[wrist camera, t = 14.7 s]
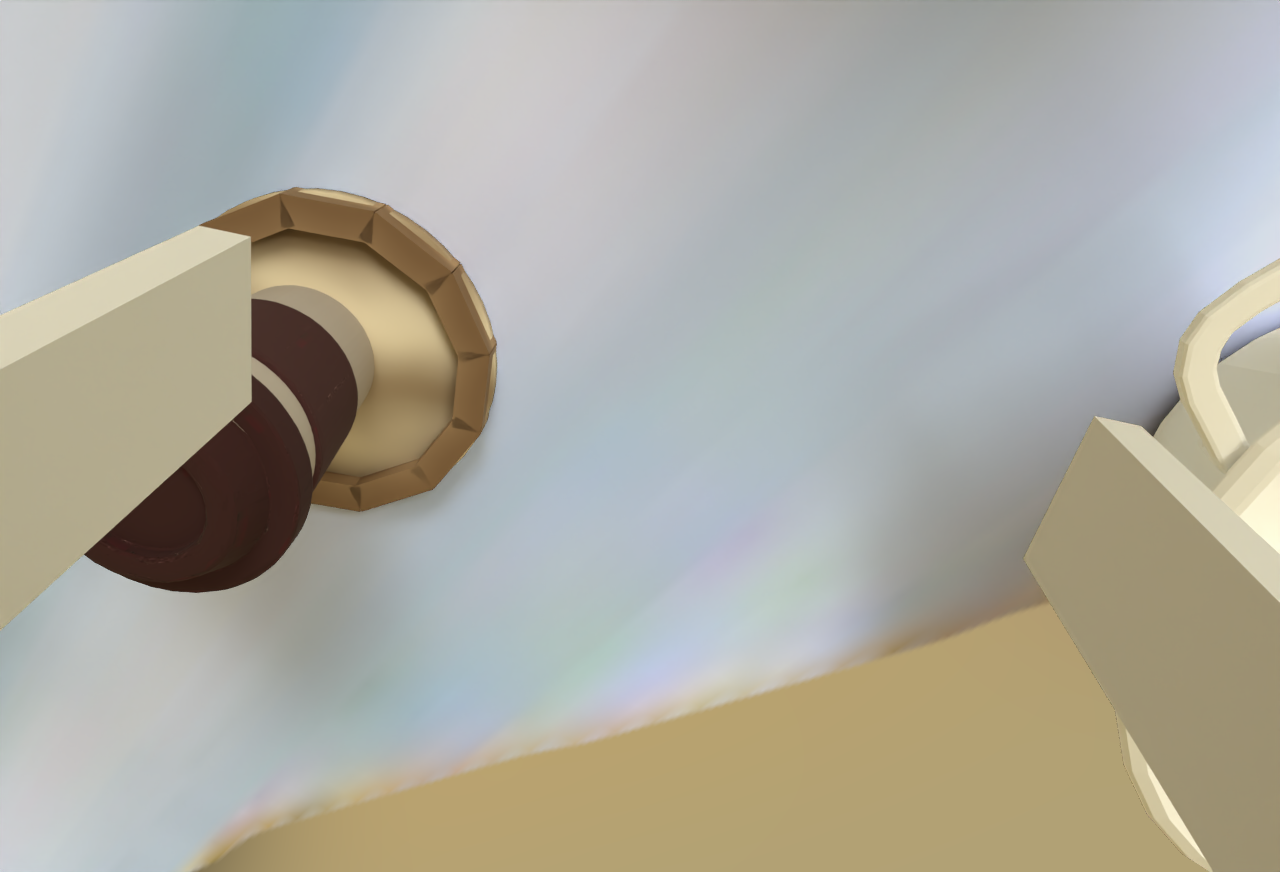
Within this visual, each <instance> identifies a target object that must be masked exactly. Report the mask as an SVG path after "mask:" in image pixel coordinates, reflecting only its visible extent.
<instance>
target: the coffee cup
mask: <svg viewBox="0 0 1280 872" xmlns="http://www.w3.org/2000/svg"><path fill="white" fill-rule="evenodd" d="M374 368H375V367H374V355H373V350H372V347H371V343H370V340H369V338H368V336H367V334H366V332H365V330H364V328H363V327H362V325H361V324H360V323H359V321H358V320H357V318H356V317H355V316H354V315H353V314H352V313H351V312H350V311H349V310H348V309H347V308H346V307H345V306H344V305H342V304H341V303H340V302H338V301H337V300H335V299H334V298H332V297H331V296H329V295H326V294H324V293H322V292H320V291H317V290H315V289H311V288H308V287H303V286H296V285H283V286H274V287H269V288H266V289H263V290H260V291H258V292H256V293H254V294H252V295H251V383H252V402H251V403H250V404H249V405H248V406H247V407H245V408H244V409H243V410H242V411H241V412H240V413H239V414H238V415H237V416H236V417H234V418H233V419H232V420H231V421H230V422H229V423H228V424H227V425H226V426H225V427H223V428H222V429H221V430H220V431H219V432H218V433H217V434H216V435H215V436H214V437H212V438H211V439H210V440H209V441H208V442H207V443H206V444H205V445H204V446H203V447H201V448H200V449H199V450H198V451H197V452H196V453H195V454H194V455H193V456H192V457H190V458H189V459H188V460H187V461H186V462H185V463H184V464H183V465H182V466H181V467H179V468H178V469H177V470H176V471H175V472H174V473H173V474H172V475H171V476H170V477H168V478H167V479H166V480H165V481H164V482H163V483H162V484H161V485H160V486H159V487H157V488H156V489H155V490H154V491H153V492H152V493H151V494H150V495H149V496H148V497H146V498H145V499H144V500H143V501H142V502H141V503H140V504H139V505H138V506H137V507H135V508H134V509H133V510H132V511H131V512H130V513H129V514H128V515H127V516H126V517H124V518H123V519H122V520H121V521H120V522H119V523H118V524H117V525H116V526H115V527H113V528H112V529H111V530H110V531H109V532H108V533H107V534H106V535H105V536H104V537H103V538H101V539H100V540H99V541H98V542H97V543H96V544H95V545H94V546H93V547H92V548H90V549H89V550H88V551H87V552H86V553H85V554H84V555H85V556H87V557H88V558H89V559H91V560H92V561H93V562H95V563H97V564H99V565H101V566H103V567H105V568H107V569H108V570H110V571H112V572H114V573H117V574H120V575H122V576H124V577H126V578H128V579H131V580H134V581H136V582H139V583H142V584H145V585H148V586H151V587H155V588H160V589H165V590H170V591H178V592H193V593H199V592H210V591H219V590H225V589H229V588H233V587H236V586H239V585H241V584H244V583H246V582H248V581H251V580H253V579H255V578H257V577H258V576H260V575H261V574H262V573H264V572H265V571H267V570H268V569H269V568H271V567H272V566H273V565H274V564H275V563H276V562H277V561H278V560H279V559H280V558H281V557H282V555H283V554H284V553H285V552H286V550H287V549H288V548H289V546H290V545H291V543H292V542H293V541H294V539H295V538H296V537H297V535H298V534H299V532H300V530H301V529H302V527H303V525H304V523H305V520H306V518H307V515H308V512H309V508H310V505H311V499H312V493H313V491H314V490H315V488H316V487H317V485H318V483H319V482H320V480H321V478H322V477H323V475H324V473H325V472H326V470H327V469H328V467H329V465H330V464H331V462H332V460H333V459H334V457H335V455H336V454H337V452H338V451H339V449H340V447H341V446H342V444H343V442H344V441H345V439H346V437H347V436H348V434H349V432H350V430H351V428H352V426H353V423H354V420H355V417H356V412H357V411H358V409H359V408H360V406H361V404H362V403H363V401H364V400H365V398H366V396H367V395H368V393H369V390H370V388H371V385H372V382H373V377H374Z"/></svg>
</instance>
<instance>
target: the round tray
mask: <svg viewBox="0 0 1280 872" xmlns="http://www.w3.org/2000/svg"><path fill="white" fill-rule="evenodd" d="M199 226H203V227H208V228H212V229H217V230H222V231H226V232H231V233H236V234H240V235H245V236H250V237H251V295H252V294H254V293H256V292H258V291H260V290H263V289H266V288H269V287H274V286H283V285H296V286H303V287H308V288H311V289H315V290H317V291H320V292H322V293H324V294H326V295H329V296H331V297H332V298H334V299H335V300H337V301H338V302H340V303H341V304H342V305H344V306H345V307H346V308H347V309H348V310H349V311H350V312H351V313H352V314H353V315H354V316H355V317H356V318H357V320H358V321H359V323H360V324H361V325H362V327H363V328H364V330H365V332H366V334H367V336H368V338H369V340H370V343H371V347H372V350H373V355H374V367H375V368H374V377H373V382H372V385H371V388H370V390H369V393H368V395H367V396H366V398H365V400H364V401H363V403H362V404H361V406H360V408H359V409H358V411H357V412H356V417H355V420H354V423H353V426H352V428H351V430H350V432H349V434H348V436H347V437H346V439H345V441H344V442H343V444H342V446H341V447H340V449H339V451H338V452H337V454H336V455H335V457H334V459H333V460H332V462H331V464H330V465H329V467H328V469H327V470H326V472H325V473H324V475H323V477H322V478H321V480H320V482H319V483H318V485H317V487H316V488H315V490H314V491H313V493H312V499H311V503H313V504H318V505H324V506H330V507H336V508H342V509H348V510H353V511H359V512H360V511H365V510H369V509H372V508H375V507H378V506H381V505H385V504H388V503H391V502H394V501H397V500H401V499H404V498H407V497H410V496H413V495H417V494H420V493H423V492H426V491H430V490H433V488H435V487H436V486H437V485H438V483H439V482H440V481H441V480H442V479H443V478H444V476H445V475H446V474H447V473H448V472H449V471H450V469H451V468H452V467H453V466H454V465H455V464H456V463H457V462H458V461H459V460H460V459H461V458H462V457H463V456H464V455H465V454H466V452H467V451H468V450H469V448H470V447H471V446H472V444H473V443H474V442H475V440H476V439H477V438H478V437H479V435H480V434H481V432H482V430H483V428H484V426H485V424H486V422H487V420H488V415H489V410H490V407H491V404H492V401H493V396H494V391H495V386H496V375H497V357H496V345H497V343H496V340H495V338H494V335H493V331H492V327H491V323H490V320H489V317H488V315H487V312H486V309H485V307H484V304H483V302H482V300H481V298H480V296H479V294H478V292H477V290H476V288H475V286H474V284H473V283H472V281H471V280H470V278H469V277H468V275H467V274H466V272H465V271H464V269H463V266H462V264H459V263H460V262H459V261H458V260H457V259H455V258H454V257H453V256H452V255H451V254H450V252H449V251H448V250H447V249H446V248H445V247H444V246H443V245H442V244H441V243H440V242H439V241H438V240H436V239H435V238H434V237H433V236H432V235H431V234H430V233H429V232H427V231H426V230H425V229H423V228H422V227H421V226H419V225H418V224H416V223H415V222H413V221H412V220H411V219H409V218H408V217H406V216H404V215H402V214H401V213H399V212H397V211H395V210H393V209H392V208H391V207H390V206H388V205H386V204H383V203H378V202H375V201H373V200H370V199H368V198H365V197H362V196H358V195H354V194H350V193H346V192H342V191H335V190H327V189H319V188H316V189H304V188H298V187H294V188H291V189H289V190H284V191H278V192H273V193H270V194H266V195H263V196H260V197H257V198H253V199H251V200H248V201H246V202H244V203H242V204H240V205H238V206H236V207H234V208H232V209H230V210H227V211H226V212H225V213H223V214H222V215H220V216H219V217H217V218H215V219H213V220H210V221H208V222H205V223H203V224H201V225H199Z"/></svg>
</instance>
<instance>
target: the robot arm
mask: <svg viewBox="0 0 1280 872" xmlns="http://www.w3.org/2000/svg"><path fill="white" fill-rule="evenodd" d="M251 402H252V383H251V237H250V236H245V235H240V234H236V233H231V232H226V231H222V230H217V229H212V228H208V227H203V226H197V227H195V228H193V229H191V230H189V231H186V232H184V233H182V234H180V235H177V236H175V237H173V238H171V239H169V240H166V241H164V242H162V243H160V244H157V245H155V246H153V247H151V248H149V249H146V250H144V251H142V252H140V253H137V254H135V255H133V256H131V257H129V258H126V259H124V260H122V261H120V262H118V263H115V264H113V265H111V266H109V267H106V268H104V269H102V270H100V271H98V272H95V273H93V274H91V275H89V276H86V277H84V278H82V279H80V280H78V281H75V282H73V283H71V284H69V285H66V286H64V287H62V288H60V289H58V290H55V291H53V292H51V293H49V294H46V295H44V296H42V297H40V298H38V299H35V300H33V301H31V302H29V303H27V304H24V305H22V306H20V307H18V308H15V309H13V310H11V311H9V312H7V313H4V314H2V315H0V630H1V629H2V628H4V627H5V626H6V625H7V624H8V623H9V622H10V621H11V620H12V619H13V618H15V617H16V616H17V615H18V614H19V613H20V612H21V611H22V610H23V609H24V608H26V607H27V606H28V605H29V604H30V603H31V602H32V601H33V600H34V599H35V598H37V597H38V596H39V595H40V594H41V593H42V592H43V591H44V590H45V589H46V588H48V587H49V586H50V585H51V584H52V583H53V582H54V581H55V580H56V579H57V578H59V577H60V576H61V575H62V574H63V573H64V572H65V571H66V570H67V569H68V568H70V567H71V566H72V565H73V564H74V563H75V562H76V561H77V560H78V559H79V558H81V557H82V556H83V555H84V554H85V553H86V552H87V551H88V550H89V549H90V548H92V547H93V546H94V545H95V544H96V543H97V542H98V541H99V540H100V539H101V538H103V537H104V536H105V535H106V534H107V533H108V532H109V531H110V530H111V529H112V528H113V527H115V526H116V525H117V524H118V523H119V522H120V521H121V520H122V519H123V518H124V517H126V516H127V515H128V514H129V513H130V512H131V511H132V510H133V509H134V508H135V507H137V506H138V505H139V504H140V503H141V502H142V501H143V500H144V499H145V498H146V497H148V496H149V495H150V494H151V493H152V492H153V491H154V490H155V489H156V488H157V487H159V486H160V485H161V484H162V483H163V482H164V481H165V480H166V479H167V478H168V477H170V476H171V475H172V474H173V473H174V472H175V471H176V470H177V469H178V468H179V467H181V466H182V465H183V464H184V463H185V462H186V461H187V460H188V459H189V458H190V457H192V456H193V455H194V454H195V453H196V452H197V451H198V450H199V449H200V448H201V447H203V446H204V445H205V444H206V443H207V442H208V441H209V440H210V439H211V438H212V437H214V436H215V435H216V434H217V433H218V432H219V431H220V430H221V429H222V428H223V427H225V426H226V425H227V424H228V423H229V422H230V421H231V420H232V419H233V418H234V417H236V416H237V415H238V414H239V413H240V412H241V411H242V410H243V409H244V408H245V407H247V406H248V405H249V404H250V403H251ZM1023 560H1024V561H1025V563H1026V565H1027V566H1028V568H1029V570H1030V571H1031V573H1032V574H1033V576H1034V578H1035V579H1036V581H1037V583H1038V584H1039V586H1040V588H1041V589H1042V591H1043V593H1044V594H1045V596H1046V597H1047V599H1048V601H1049V602H1050V604H1051V606H1052V607H1053V609H1054V610H1055V612H1056V614H1057V615H1058V617H1059V619H1060V620H1061V622H1062V624H1063V625H1064V627H1065V629H1066V630H1067V632H1068V634H1069V635H1070V637H1071V639H1072V640H1073V642H1074V644H1075V645H1076V647H1077V648H1078V650H1079V652H1080V653H1081V655H1082V656H1083V658H1084V660H1085V662H1086V663H1087V665H1088V667H1089V668H1090V670H1091V671H1092V673H1093V675H1094V676H1095V678H1096V680H1097V681H1098V683H1099V685H1100V686H1101V688H1102V690H1103V691H1104V693H1105V695H1106V696H1107V698H1108V699H1109V701H1110V703H1111V704H1112V706H1113V707H1114V709H1115V711H1116V713H1117V714H1118V716H1119V718H1120V719H1121V721H1122V722H1123V724H1124V726H1125V727H1126V729H1127V731H1128V732H1129V734H1130V736H1131V737H1132V739H1133V741H1134V742H1135V744H1136V745H1137V747H1138V749H1139V750H1140V752H1141V754H1142V755H1143V757H1144V759H1145V760H1146V762H1147V764H1148V765H1149V767H1150V769H1151V770H1152V772H1153V773H1154V775H1155V777H1156V778H1157V780H1158V782H1159V783H1160V785H1161V787H1162V788H1163V790H1164V792H1165V793H1166V795H1167V796H1168V798H1169V800H1170V801H1171V803H1172V805H1173V806H1174V808H1175V810H1176V811H1177V813H1178V815H1179V816H1180V818H1181V819H1182V821H1183V823H1184V824H1185V826H1186V828H1187V829H1188V831H1189V833H1190V834H1191V836H1192V838H1193V839H1194V841H1195V843H1196V844H1197V846H1198V847H1199V849H1200V851H1201V852H1202V854H1203V856H1204V857H1205V859H1206V861H1207V862H1208V864H1209V866H1210V867H1211V869H1212V870H1213V872H1280V554H1279V553H1278V552H1277V551H1276V550H1275V549H1274V548H1272V547H1271V546H1270V545H1269V544H1268V543H1267V542H1266V541H1265V540H1264V539H1263V538H1262V537H1261V536H1260V535H1258V534H1257V533H1256V532H1255V531H1254V530H1253V529H1252V528H1251V527H1250V526H1249V525H1248V524H1247V523H1245V522H1244V521H1243V520H1242V519H1241V518H1240V517H1239V516H1238V515H1237V514H1236V513H1235V512H1234V511H1232V510H1231V509H1230V508H1229V507H1228V506H1227V505H1226V504H1225V503H1224V502H1223V501H1222V500H1221V499H1220V498H1218V497H1217V496H1216V495H1215V494H1214V493H1213V492H1212V491H1211V490H1210V489H1209V488H1208V487H1207V486H1205V485H1204V484H1203V483H1202V482H1201V481H1200V480H1199V479H1198V478H1197V477H1196V476H1195V475H1194V474H1192V473H1191V472H1190V471H1189V470H1188V469H1187V468H1186V467H1185V466H1184V465H1183V464H1182V463H1181V462H1179V461H1178V460H1177V459H1176V458H1175V457H1174V456H1173V455H1172V454H1171V453H1170V452H1169V451H1168V450H1167V449H1165V448H1164V447H1163V446H1162V445H1161V444H1160V443H1159V442H1158V441H1157V440H1156V439H1155V438H1154V437H1152V436H1151V435H1150V434H1149V433H1148V432H1147V431H1146V430H1145V429H1144V428H1143V427H1142V426H1139V425H1134V424H1129V423H1125V422H1120V421H1115V420H1110V419H1106V418H1101V417H1096V416H1094V418H1093V420H1092V422H1091V424H1090V426H1089V428H1088V430H1087V432H1086V434H1085V436H1084V438H1083V440H1082V442H1081V444H1080V446H1079V448H1078V450H1077V452H1076V454H1075V456H1074V458H1073V460H1072V462H1071V464H1070V466H1069V468H1068V470H1067V472H1066V474H1065V476H1064V478H1063V480H1062V482H1061V484H1060V486H1059V488H1058V490H1057V492H1056V494H1055V496H1054V498H1053V500H1052V502H1051V504H1050V506H1049V508H1048V510H1047V512H1046V514H1045V516H1044V518H1043V520H1042V522H1041V524H1040V526H1039V528H1038V530H1037V532H1036V534H1035V536H1034V538H1033V540H1032V542H1031V544H1030V546H1029V548H1028V550H1027V552H1026V554H1025V556H1024V558H1023Z"/></svg>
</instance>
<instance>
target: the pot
mask: <svg viewBox="0 0 1280 872" xmlns="http://www.w3.org/2000/svg"><path fill="white" fill-rule="evenodd" d="M1279 301H1280V259H1278V260H1276V261H1274V262H1273V263H1271V264H1269V265H1267V266H1266V267H1264V268H1262V269H1260V270H1259V271H1257V272H1255V273H1254V274H1252V275H1250V276H1248V277H1247V278H1245V279H1243V280H1241V281H1240V282H1238V283H1237V284H1236V285H1234V286H1233V287H1232V288H1230V289H1229V290H1228V291H1226V292H1225V293H1224V294H1222V295H1221V296H1220V297H1218V298H1217V299H1216V300H1214V301H1213V302H1212V303H1210V304H1209V305H1208V306H1206V307H1205V308H1204V309H1202V310H1201V311H1200V312H1199V313H1198V314H1197V315H1196V317H1195V318H1194V320H1193V321H1192V322H1191V324H1190V325H1189V327H1188V328H1187V330H1186V331H1185V332H1184V334H1183V335H1182V337H1181V338H1180V340H1179V345H1178V350H1177V356H1176V361H1175V366H1174V371H1173V374H1174V378H1175V381H1176V385H1177V389H1178V392H1179V396H1180V400H1179V402H1178V403H1177V404H1176V405H1175V407H1174V408H1173V409H1172V410H1171V411H1170V413H1169V414H1168V415H1167V416H1166V417H1165V419H1164V420H1163V421H1162V422H1161V424H1160V426H1159V427H1158V429H1157V431H1156V433H1155V434H1154V436H1153V437H1154V438H1155V439H1156V440H1157V441H1158V442H1159V443H1160V444H1161V445H1162V446H1163V447H1164V448H1165V449H1167V450H1168V451H1169V452H1170V453H1171V454H1172V455H1173V456H1174V457H1175V458H1176V459H1177V460H1178V461H1179V462H1181V463H1182V464H1183V465H1184V466H1185V467H1186V468H1187V469H1188V470H1189V471H1190V472H1191V473H1192V474H1194V475H1195V476H1196V477H1197V478H1198V479H1199V480H1200V481H1201V482H1202V483H1203V484H1204V485H1205V486H1207V487H1208V488H1209V489H1210V490H1211V491H1212V492H1213V493H1214V494H1215V495H1216V496H1217V497H1218V498H1220V499H1221V500H1222V501H1223V502H1224V503H1225V504H1226V505H1227V506H1228V507H1229V508H1230V509H1231V510H1232V511H1234V512H1235V513H1236V514H1237V515H1238V516H1239V517H1240V518H1241V519H1242V520H1243V521H1244V522H1245V523H1247V524H1248V525H1249V526H1250V527H1251V528H1252V529H1253V530H1254V531H1255V532H1256V533H1257V534H1258V535H1260V536H1261V537H1262V538H1263V539H1264V540H1265V541H1266V542H1267V543H1268V544H1269V545H1270V546H1271V547H1272V548H1274V549H1275V550H1276V551H1277V552H1278V553H1279V554H1280V328H1278V329H1276V330H1274V331H1272V332H1269V333H1267V334H1265V335H1263V336H1261V337H1259V338H1257V339H1255V340H1253V341H1252V342H1250V343H1249V344H1247V345H1246V346H1244V347H1243V348H1241V349H1240V350H1238V351H1237V352H1235V353H1234V354H1232V355H1230V356H1229V357H1227V358H1226V359H1224V360H1223V361H1221V362H1220V363H1218V361H1219V357H1220V353H1221V350H1222V348H1223V347H1224V345H1225V343H1226V342H1227V340H1228V339H1229V337H1230V336H1231V334H1232V333H1233V332H1234V331H1236V330H1237V329H1238V328H1240V327H1241V326H1242V325H1244V324H1245V323H1246V322H1248V321H1249V320H1250V319H1252V318H1253V317H1254V316H1256V315H1257V314H1258V313H1260V312H1261V311H1263V310H1265V309H1267V308H1268V307H1270V306H1272V305H1274V304H1275V303H1277V302H1279ZM1115 713H1116V711H1115ZM1116 720H1117V726H1118V733H1119V739H1120V745H1121V752H1122V758H1123V764H1124V767H1125V769H1126V771H1127V773H1128V775H1129V777H1130V779H1131V782H1132V784H1133V786H1134V788H1135V790H1136V792H1137V794H1138V796H1139V799H1140V801H1141V803H1142V805H1143V807H1144V809H1145V811H1146V814H1147V815H1148V816H1149V817H1150V818H1151V819H1152V821H1153V822H1154V823H1155V824H1156V825H1157V826H1158V827H1159V829H1160V830H1161V831H1162V832H1163V833H1164V834H1165V835H1166V836H1167V838H1168V839H1169V840H1170V841H1171V842H1172V843H1173V844H1174V845H1175V847H1176V848H1177V849H1178V850H1179V851H1180V852H1181V853H1182V854H1183V855H1185V856H1186V857H1188V858H1189V859H1191V860H1192V861H1194V862H1195V863H1197V864H1198V865H1200V866H1201V867H1203V868H1204V869H1206V870H1207V871H1209V872H1213V870H1212V869H1211V867H1210V866H1209V864H1208V862H1207V861H1206V859H1205V857H1204V856H1203V854H1202V852H1201V851H1200V849H1199V847H1198V846H1197V844H1196V843H1195V841H1194V839H1193V838H1192V836H1191V834H1190V833H1189V831H1188V829H1187V828H1186V826H1185V824H1184V823H1183V821H1182V819H1181V818H1180V816H1179V815H1178V813H1177V811H1176V810H1175V808H1174V806H1173V805H1172V803H1171V801H1170V800H1169V798H1168V796H1167V795H1166V793H1165V792H1164V790H1163V788H1162V787H1161V785H1160V783H1159V782H1158V780H1157V778H1156V777H1155V775H1154V773H1153V772H1152V770H1151V769H1150V767H1149V765H1148V764H1147V762H1146V760H1145V759H1144V757H1143V755H1142V754H1141V752H1140V750H1139V749H1138V747H1137V745H1136V744H1135V742H1134V741H1133V739H1132V737H1131V736H1130V734H1129V732H1128V731H1127V729H1126V727H1125V726H1124V724H1123V722H1122V721H1121V719H1120V718H1119V716H1118V714H1117V713H1116Z"/></svg>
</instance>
